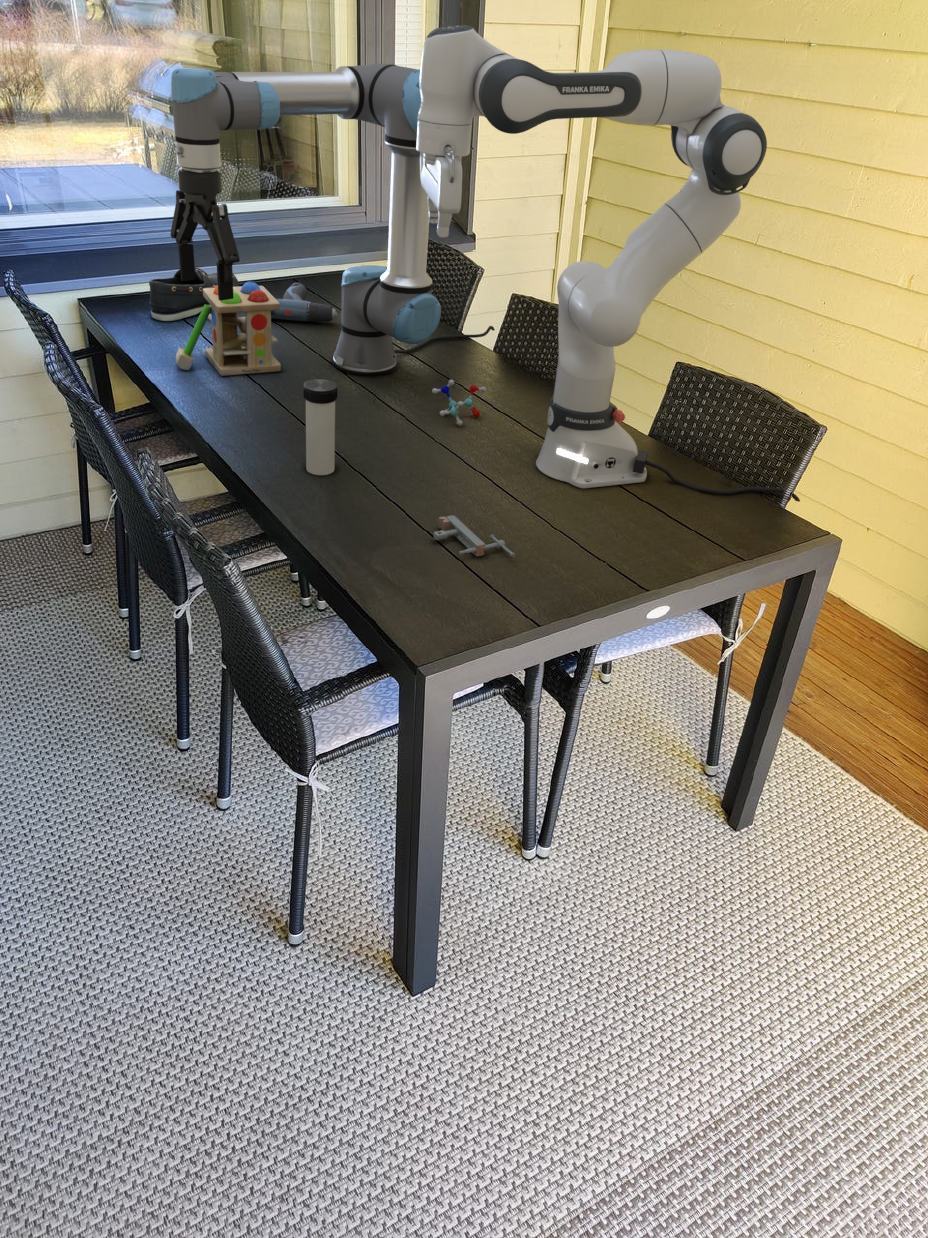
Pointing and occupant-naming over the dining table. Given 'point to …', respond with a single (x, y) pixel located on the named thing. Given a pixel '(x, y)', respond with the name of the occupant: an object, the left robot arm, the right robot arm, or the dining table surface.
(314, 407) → the jar
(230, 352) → the pounding bench toy
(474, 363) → the dining table surface
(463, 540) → the clamp
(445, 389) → the molecular model
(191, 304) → the boat shoe
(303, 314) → the power drill
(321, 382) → the lid
